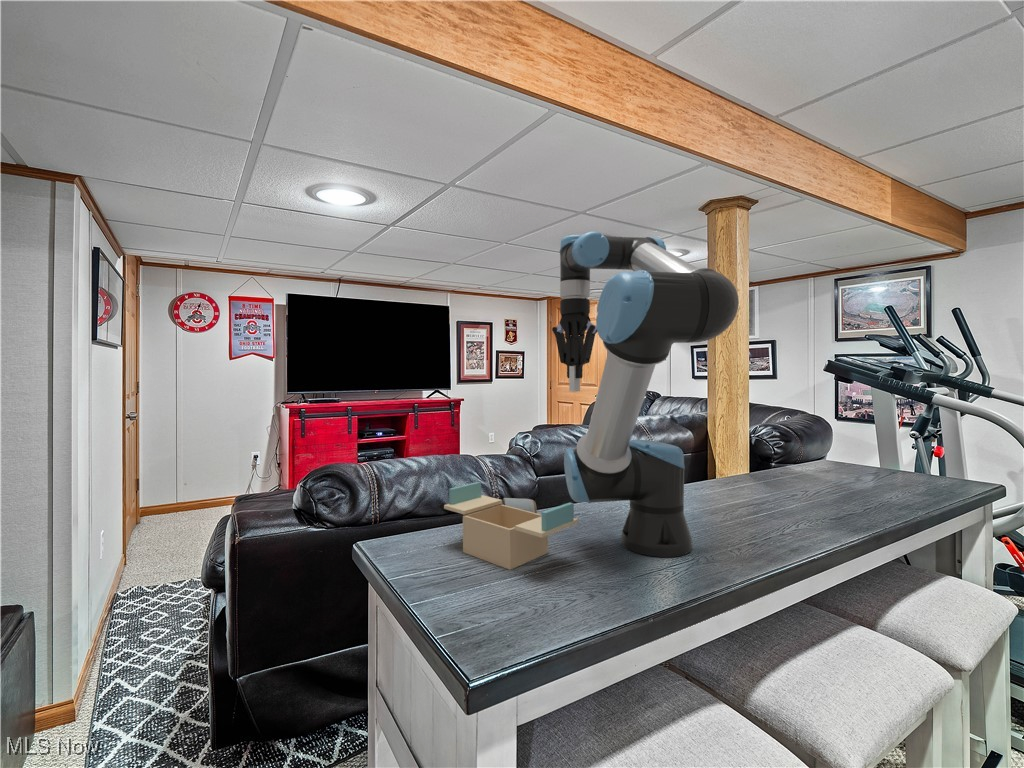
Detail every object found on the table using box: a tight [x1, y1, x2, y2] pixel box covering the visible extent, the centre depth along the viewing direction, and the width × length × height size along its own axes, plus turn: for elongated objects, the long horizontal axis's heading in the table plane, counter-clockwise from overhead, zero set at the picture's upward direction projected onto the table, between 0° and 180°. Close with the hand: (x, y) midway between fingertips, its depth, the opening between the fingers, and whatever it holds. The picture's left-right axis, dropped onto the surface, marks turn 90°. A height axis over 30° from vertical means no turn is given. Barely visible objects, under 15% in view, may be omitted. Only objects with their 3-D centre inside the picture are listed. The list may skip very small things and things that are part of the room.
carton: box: [462, 504, 549, 571], centre depth 109 cm, size 14×12×8 cm
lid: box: [443, 481, 503, 516], centre depth 115 cm, size 7×12×4 cm, turn 137°
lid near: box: [515, 501, 579, 538], centre depth 100 cm, size 7×12×4 cm, turn 137°
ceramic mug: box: [502, 497, 538, 514], centre depth 126 cm, size 11×8×8 cm
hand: (574, 391), depth 129 cm, fingers closed
